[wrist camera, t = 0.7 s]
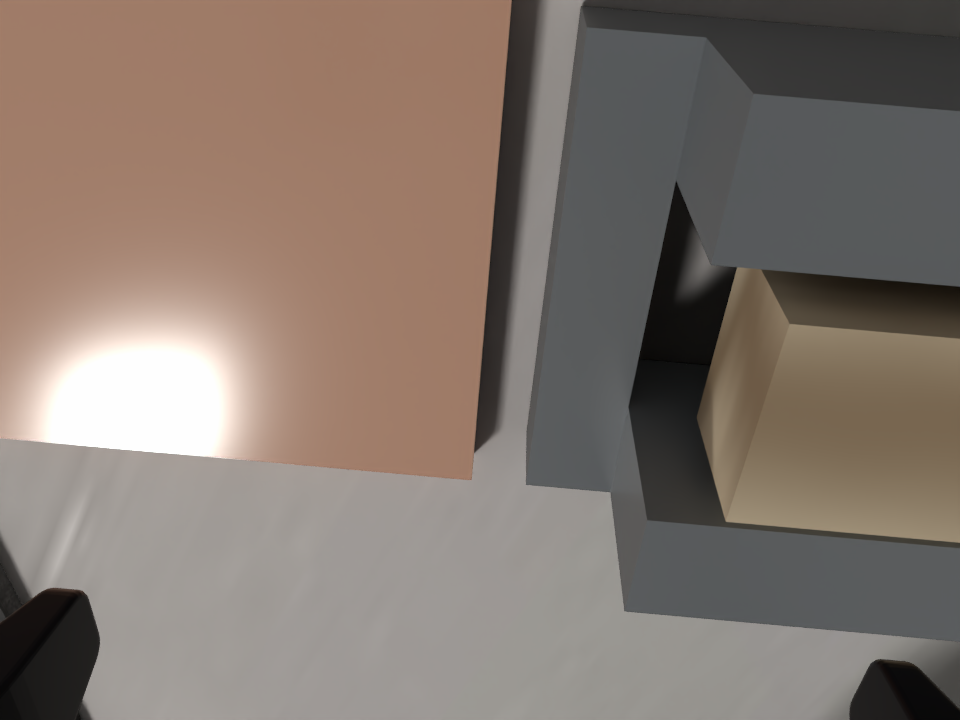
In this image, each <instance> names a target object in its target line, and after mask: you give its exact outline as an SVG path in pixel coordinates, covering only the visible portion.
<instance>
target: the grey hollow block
mask: <svg viewBox="0 0 960 720" xmlns="http://www.w3.org/2000/svg"><path fill="white" fill-rule="evenodd" d="M676 181H677V184H678V186H679V189H680V191H681V194H682V196H683V198H684V201H685V203H686V206H687V208H688V211H689V213H690V215H691V218H692V220H693V223H694V225H695V228H696V230H697V232H698V235H699V237H700V240H701V242H702V245H703V247H704V249H705V252H706V254H707V257H708V259H709V262H710V264H711V265H717V266H728V267H740V268H751V269H763V270H774V271H786V272H797V273H809V274H820V275H832V276H843V277H855V278H866V279H878V280H889V281H901V282H912V283H924V284H935V285H947V286H958V287H960V38H954V37H942V36H930V35H918V34H906V33H895V32H883V31H871V30H859V29H847V28H835V27H823V26H812V25H800V24H788V23H776V22H764V21H752V20H741V19H729V18H717V17H705V16H693V15H681V14H669V13H658V12H646V11H634V10H622V9H610V8H598V7H586V6H581V10H580V18H579V25H578V33H577V41H576V49H575V57H574V65H573V72H572V80H571V88H570V96H569V104H568V112H567V119H566V127H565V135H564V143H563V151H562V159H561V166H560V174H559V182H558V190H557V198H556V206H555V213H554V221H553V229H552V237H551V245H550V253H549V260H548V268H547V276H546V284H545V292H544V300H543V307H542V315H541V323H540V331H539V339H538V347H537V354H536V362H535V370H534V378H533V386H532V394H531V401H530V409H529V417H528V425H527V438H526V485H535V486H547V487H558V488H569V489H580V490H591V491H603V492H611V501H612V509H613V518H614V526H615V535H616V543H617V552H618V560H619V569H620V577H621V586H622V594H623V603H624V611H627V612H638V613H649V614H660V615H671V616H682V617H693V618H704V619H715V620H726V621H737V622H748V623H759V624H770V625H781V626H793V627H804V628H815V629H826V630H837V631H848V632H859V633H870V634H881V635H892V636H903V637H914V638H925V639H936V640H947V641H958V642H960V543H957V542H946V541H935V540H924V539H913V538H902V537H890V536H879V535H868V534H857V533H846V532H834V531H823V530H812V529H801V528H790V527H779V526H767V525H756V524H745V523H734V522H726V521H725V517H724V514H723V510H722V507H721V503H720V499H719V496H718V492H717V489H716V485H715V482H714V478H713V474H712V471H711V467H710V464H709V460H708V456H707V453H706V449H705V446H704V442H703V439H702V435H701V431H700V428H699V424H698V421H697V414H698V411H699V407H700V403H701V400H702V396H703V392H704V388H705V385H706V381H707V377H708V374H709V370H710V366H709V365H698V364H686V363H675V362H664V361H652V360H641V359H639V354H640V349H641V345H642V340H643V335H644V330H645V326H646V321H647V316H648V311H649V307H650V302H651V297H652V292H653V288H654V283H655V278H656V273H657V269H658V264H659V259H660V254H661V250H662V245H663V240H664V235H665V230H666V226H667V221H668V216H669V211H670V207H671V202H672V197H673V192H674V188H675V183H676Z"/></svg>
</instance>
